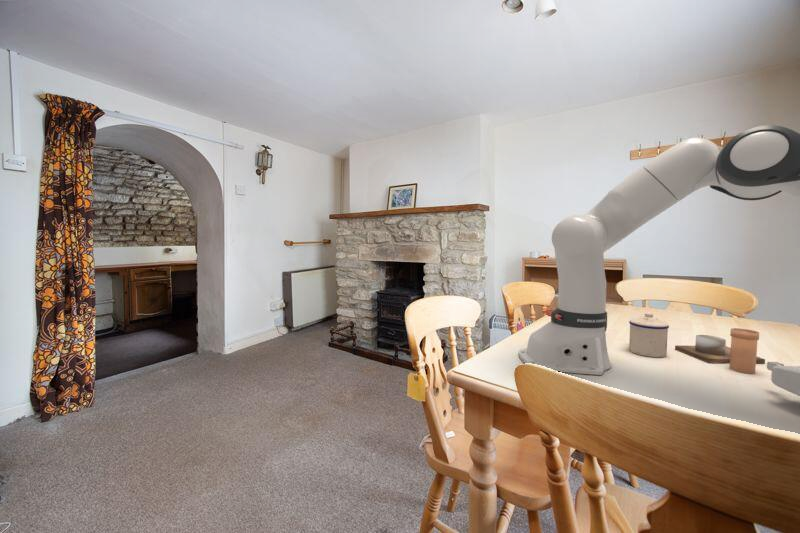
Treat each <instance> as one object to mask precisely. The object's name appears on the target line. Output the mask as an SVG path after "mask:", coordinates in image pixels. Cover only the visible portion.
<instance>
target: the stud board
mask: <svg viewBox="0 0 800 533" xmlns="http://www.w3.org/2000/svg"><path fill="white" fill-rule="evenodd" d="M726 343H727V339H725V338H723V337H720V336H714V335H708V334H697V335H695V344H694V345H675V346H674V350H675V351H677V352H680V353H683V354H686V355H688V356H690V357H693V358H695V359H697V360H700V361H702V362H705V363H707V364H730V350H731V346H726V345H727V344H726ZM756 364H758V365H760V364H761V365H762V364H763V365H765V364H766V359H765V358H762V357H760V356H757V355H756Z"/></svg>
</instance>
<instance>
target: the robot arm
mask: <svg viewBox="0 0 800 533" xmlns="http://www.w3.org/2000/svg"><path fill="white" fill-rule="evenodd" d="M708 186H709V188H710V189H712V190H715V191H718V192H720V193H722V194H724V195H727V196H729V197H732V198H734V199H739V200H742V201H760V200H764V199H768V198H771V197H774V196H776V195H778V194H780V193H782V192H785V193H788V194H790V195H793V196H794V197H795V198H796V199H798V200H799V201H800V132H797V131H796V130H794V129H792V128H788V127H785V126H782V125H781V126H780V125H774V124H769V125H767V124H766V125H765V124H764V125H759V126H755V127H751V128H748V129H746V130H744V131H741V132H739V133H738V134H736V135H734V136H733V137H732V138H731V139H730V140H728V141H727V142H726V143H725V144H724V145H723V146H720V145H717V144H716V143H715V142H713V141H712V140H709V139H706V138H703V137H698V136H697V137H695V136H694V137H689V138H686V139H683V140H682V141H680V142H678V143H676V144H674V145H673V146H671V147H669V148H668V149H666V150H664V151H663V152H662V153H660V154H658V155H655V157H654V158H652V159H650V160H649V161H647V162H646V163H645V164H644V165H642V166H641V167H640V168H638V169H637V170H635V171H634V172H632V173H631V174H629V176H627V177H626V178H625V179H624V180H622V181H621V182H620V183H618V184H617V185H616V186H614V187H612V188H611V189H610V190H609V191H608V192H607V193H606V195H605V196H604V197H603V198H602V199H601V200H599V202H598V203H597V204H596V205H594V206H593V207H592V208H591V209H590V210H589V211H587V213H585V214H584V215H581V214H576V215H571V216H568V217H566V218H565V219H562V220H560V222H558V223H557V224H556V225H555V227H554V229H553V231H552V234H551V243H552V246H553V249H554V254H555V265H556V270H557V278H558V280H557V281H558V302H557V308H556V309H554V310H553V309H551V308H550V307H548V308H545V309H544V314H545V315H546V316H548V317H550V321H549V322H548V323H546V324H545V325H543V326H541V327H540V328H538V329H537V330H536V331H534V332H531V334H530V335H529V337H528V342H527V347H526V348H521V349H519V351H518V357H519V359H520V360H521V361H522V362H523V363H524V364H525V363H532V364H537V365H541V366H545V367H547V368H551V369H553V370H557V371H560V372H559V373H569V374H572V373H573V374H581V375H582V374H583V375H584V374H585V375H592V376H593V375H594V376H595V375H596V376H602V375H604V371H607V370H609V369H610V368H611V366H612V363H611V360H610V357H609V353H608V347H607V339H606V336H607V335H606V332H607V328H608V311H606V307H607V306H606V304H607V303H606V302H607V278H606V272H605V258H604V253H605V252H607V251H609V250H610V249H611V248H612V247H614V246H616V245H617V244H618V243H619V242H621V241H623V240H624V239H625V238H627V237H628V236H630V235H631V234H632V233H634V232H635V231H636V230H638V229H639V228H641V227H642V226H643V225H645V224H646V223H648V222H650V221H651V220H653V219H654V218H656V217H657V216H658V215H660V214H661V213H663V212H665V211H666V210H668V209H670V208H671V207H673V206H674V205H675V204H677V203H678V202H680V201H682V200H683V199H685V198H686V197H687V196H689V195H691V194H693V193H694V192H696V191H697V190H699V189H702V188H704V187H708ZM766 369H767V370H768V371H770V372H771V373H770V374H771V375H770V376H771V377H770V380H771V383H772V384H773V385H775V386H777V388H780V389H783V390H784V391H786V392H789V393H791V394H793V395H796V396H799V397H800V365H785V364H784V363H780V362H778V361H767V362H766Z"/></svg>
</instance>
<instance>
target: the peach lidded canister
mask: <svg viewBox="0 0 800 533" xmlns="http://www.w3.org/2000/svg"><path fill="white" fill-rule="evenodd" d="M729 334H730V338H731V339H730V348H731V350H730V363H729V369H730V370H731V371H734V372H737V373H741V374H748V375H753V374H756V367H757V365H756V356H757V352H758V341H759V340H760V332H759V331H757V330H753V329H746V328H739V327H738V328H736V327H735V328H734V327H733V328H730V332H729Z"/></svg>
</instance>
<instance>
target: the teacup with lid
mask: <svg viewBox="0 0 800 533" xmlns="http://www.w3.org/2000/svg"><path fill="white" fill-rule="evenodd" d="M628 323H629V338H628V339H629V341H628V350H629V351H630V352H631V353H634V354H636V355H639V356H643V357H649V358H665V357H666V356H667V353H668V350H667V349H668V336H669V335H668V334H669V332H668V331H669V328H670V326H669V323H668V322H666V321H663V320H661V319H660V318H658V317H655V316H654V313H652V312H645V313H644V315H641V316H638V317H634V318H631V319H629V321H628Z"/></svg>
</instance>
